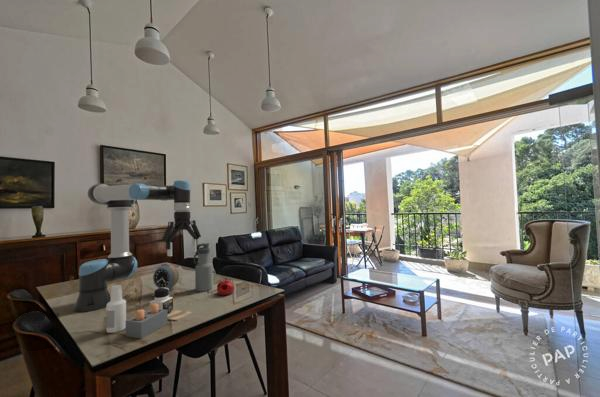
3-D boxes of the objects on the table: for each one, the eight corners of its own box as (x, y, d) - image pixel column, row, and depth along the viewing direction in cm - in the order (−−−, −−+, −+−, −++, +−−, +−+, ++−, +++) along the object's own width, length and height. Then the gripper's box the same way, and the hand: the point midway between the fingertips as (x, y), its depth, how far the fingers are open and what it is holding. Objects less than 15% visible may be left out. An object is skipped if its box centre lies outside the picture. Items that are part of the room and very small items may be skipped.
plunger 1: (133, 326, 104) (133, 312, 104) (140, 322, 107) (140, 309, 107) (139, 326, 103) (139, 312, 104) (146, 323, 106) (146, 309, 106)
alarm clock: (149, 295, 152) (149, 265, 153) (162, 290, 162) (161, 261, 162) (171, 296, 149) (170, 265, 149) (182, 291, 158) (182, 262, 159)
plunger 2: (148, 318, 111) (148, 305, 111) (154, 315, 114) (154, 303, 114) (154, 319, 110) (154, 306, 110) (160, 316, 113) (160, 303, 113)
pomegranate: (226, 290, 159) (226, 274, 160) (237, 292, 154) (237, 276, 154) (212, 294, 151) (212, 278, 152) (223, 297, 146) (223, 280, 146)
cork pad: (161, 318, 119) (161, 317, 119) (175, 311, 128) (175, 310, 128) (177, 321, 116) (177, 319, 116) (191, 313, 125) (191, 311, 125)
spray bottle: (112, 326, 113) (113, 283, 113) (129, 325, 113) (129, 283, 114) (102, 333, 106) (102, 288, 106) (120, 332, 106) (120, 287, 107)
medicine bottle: (163, 317, 120) (162, 291, 121) (149, 316, 122) (149, 290, 122) (173, 311, 127) (173, 286, 128) (160, 310, 129) (160, 286, 129)
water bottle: (191, 291, 158) (191, 244, 159) (200, 286, 167) (199, 242, 168) (207, 292, 156) (206, 244, 157) (215, 287, 166) (214, 242, 167)
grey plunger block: (125, 336, 103) (125, 320, 104) (152, 322, 116) (152, 308, 116) (141, 338, 101) (141, 322, 101) (167, 323, 114) (167, 309, 114)
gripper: (162, 211, 119) (163, 258, 118) (207, 210, 141) (207, 250, 140) (153, 212, 123) (153, 257, 122) (198, 210, 144) (198, 249, 144)
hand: (182, 253), depth 131 cm, fingers open, 13 cm apart
